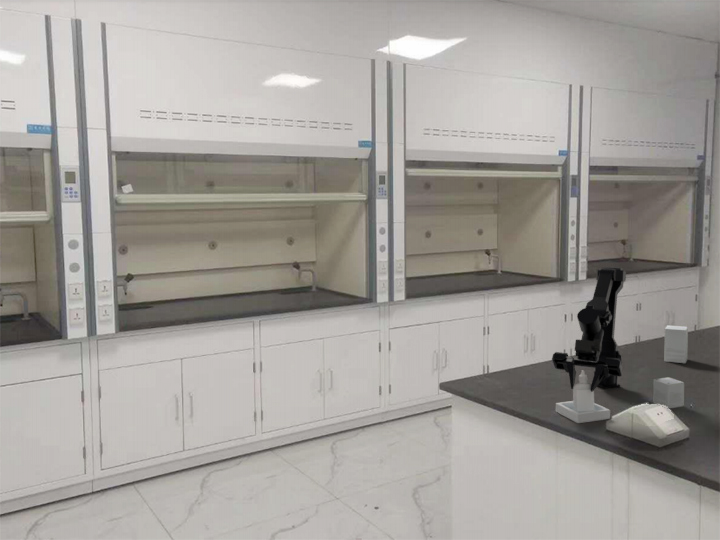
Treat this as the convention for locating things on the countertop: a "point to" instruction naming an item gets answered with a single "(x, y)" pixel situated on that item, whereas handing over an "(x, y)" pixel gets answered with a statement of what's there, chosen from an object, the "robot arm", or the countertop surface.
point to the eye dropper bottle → (583, 395)
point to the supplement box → (676, 344)
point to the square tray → (595, 415)
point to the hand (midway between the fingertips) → (581, 389)
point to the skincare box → (668, 392)
